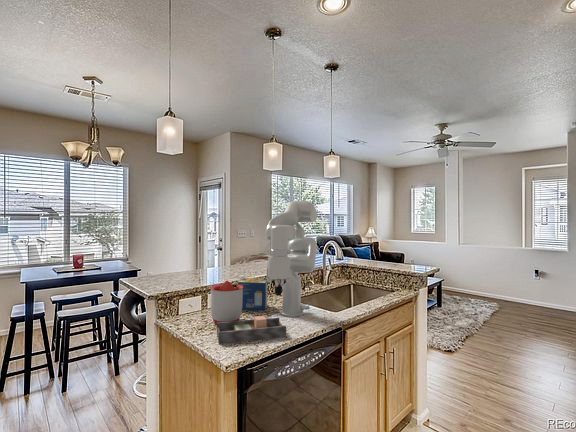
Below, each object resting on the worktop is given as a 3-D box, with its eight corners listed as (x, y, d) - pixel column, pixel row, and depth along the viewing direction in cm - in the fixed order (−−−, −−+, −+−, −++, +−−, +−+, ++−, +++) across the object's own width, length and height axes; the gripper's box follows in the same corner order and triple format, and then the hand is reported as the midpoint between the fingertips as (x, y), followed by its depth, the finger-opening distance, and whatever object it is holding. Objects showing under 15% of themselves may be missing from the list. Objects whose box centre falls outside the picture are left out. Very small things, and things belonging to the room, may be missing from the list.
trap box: (278, 327, 143) (278, 317, 143) (286, 337, 132) (286, 326, 132) (216, 333, 135) (216, 322, 135) (218, 343, 123) (219, 332, 123)
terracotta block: (264, 324, 137) (264, 315, 137) (266, 328, 133) (266, 319, 133) (254, 325, 136) (254, 316, 136) (256, 329, 132) (256, 320, 132)
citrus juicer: (249, 317, 156) (249, 277, 156) (234, 329, 140) (234, 285, 140) (221, 314, 161) (221, 275, 161) (203, 325, 144) (204, 282, 144)
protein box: (240, 304, 178) (241, 277, 178) (267, 305, 178) (267, 278, 178) (237, 310, 168) (237, 281, 168) (265, 311, 167) (265, 282, 167)
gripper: (292, 252, 143) (291, 292, 142) (260, 252, 138) (259, 294, 138) (297, 254, 135) (297, 296, 135) (264, 254, 131) (263, 298, 131)
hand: (278, 295), depth 137 cm, fingers closed
